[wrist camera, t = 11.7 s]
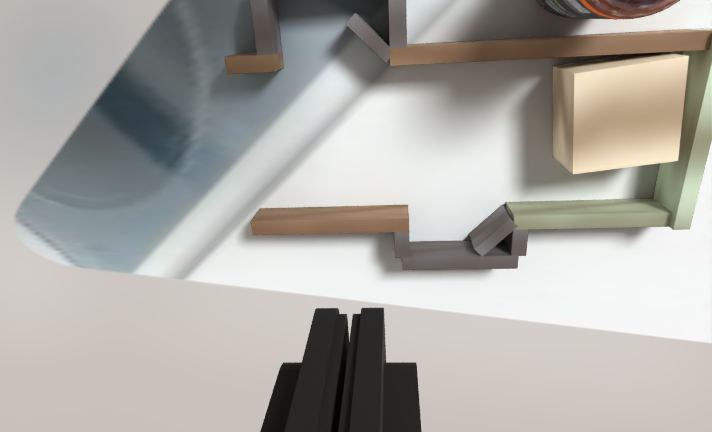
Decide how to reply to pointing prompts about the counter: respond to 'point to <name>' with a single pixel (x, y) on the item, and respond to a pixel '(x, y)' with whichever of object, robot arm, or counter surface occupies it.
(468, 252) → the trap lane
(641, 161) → the block
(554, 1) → the supplement bottle
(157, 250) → the counter surface
